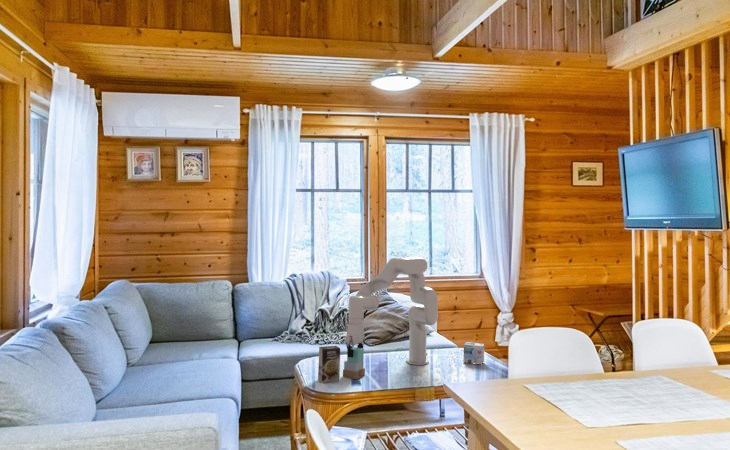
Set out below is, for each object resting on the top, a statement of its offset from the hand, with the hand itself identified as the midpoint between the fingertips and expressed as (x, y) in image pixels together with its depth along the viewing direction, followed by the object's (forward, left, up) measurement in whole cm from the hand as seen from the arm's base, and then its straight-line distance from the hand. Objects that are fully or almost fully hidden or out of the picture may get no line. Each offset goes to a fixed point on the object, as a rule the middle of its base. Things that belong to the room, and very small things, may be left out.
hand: (355, 355), depth 245 cm
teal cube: (0, 0, -3) cm, 3 cm away
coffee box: (+13, -7, -11) cm, 18 cm away
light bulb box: (-59, +43, -11) cm, 74 cm away
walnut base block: (0, 0, -11) cm, 11 cm away
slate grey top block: (0, -1, -7) cm, 7 cm away
